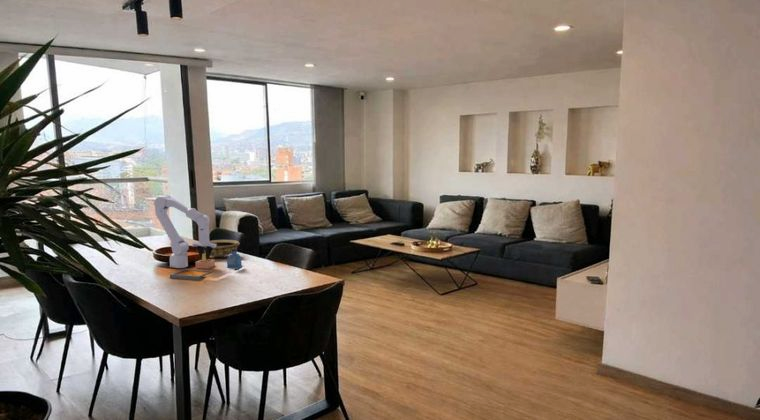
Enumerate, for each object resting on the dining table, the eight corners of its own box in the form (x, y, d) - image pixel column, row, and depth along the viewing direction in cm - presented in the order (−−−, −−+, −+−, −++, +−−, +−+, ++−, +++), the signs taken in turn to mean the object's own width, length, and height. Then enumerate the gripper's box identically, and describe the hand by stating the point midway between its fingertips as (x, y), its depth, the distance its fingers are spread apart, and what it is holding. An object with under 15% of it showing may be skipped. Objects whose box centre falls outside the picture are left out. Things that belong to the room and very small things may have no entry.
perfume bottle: (241, 267, 294) (241, 247, 292) (237, 270, 288) (236, 250, 286) (231, 267, 294) (230, 247, 293) (227, 270, 288) (226, 249, 287)
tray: (170, 278, 270) (169, 274, 270) (184, 272, 283) (184, 268, 282) (199, 280, 266) (198, 276, 265) (212, 274, 278) (212, 270, 278)
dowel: (201, 266, 289) (200, 254, 288) (204, 265, 292) (204, 253, 291) (206, 267, 288) (205, 254, 287) (209, 266, 291) (208, 253, 290)
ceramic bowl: (230, 251, 339) (229, 237, 338) (250, 256, 323) (249, 241, 322) (188, 258, 317) (187, 243, 316) (207, 264, 301) (206, 248, 300)
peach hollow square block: (195, 270, 287) (195, 261, 287) (203, 267, 295) (203, 259, 294) (207, 271, 285) (207, 262, 285) (215, 268, 293) (214, 259, 292)
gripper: (188, 236, 286) (189, 259, 287) (211, 237, 282) (212, 261, 284) (196, 234, 292) (197, 257, 294) (218, 235, 289) (219, 258, 290)
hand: (205, 259), depth 289 cm, fingers closed on dowel, 3 cm apart
